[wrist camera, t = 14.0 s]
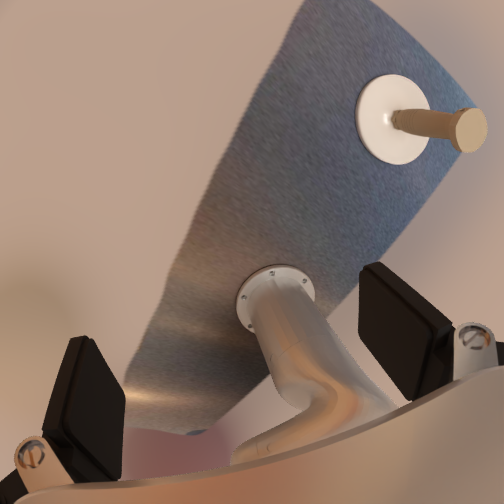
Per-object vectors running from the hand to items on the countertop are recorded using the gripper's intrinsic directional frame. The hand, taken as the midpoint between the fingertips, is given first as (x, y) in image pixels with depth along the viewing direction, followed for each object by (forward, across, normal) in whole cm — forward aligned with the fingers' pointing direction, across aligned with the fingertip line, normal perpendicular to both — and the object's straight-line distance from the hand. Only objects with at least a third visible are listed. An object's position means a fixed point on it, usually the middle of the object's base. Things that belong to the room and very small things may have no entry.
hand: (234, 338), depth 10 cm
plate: (+33, -31, -3) cm, 45 cm away
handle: (+32, -31, -3) cm, 44 cm away
